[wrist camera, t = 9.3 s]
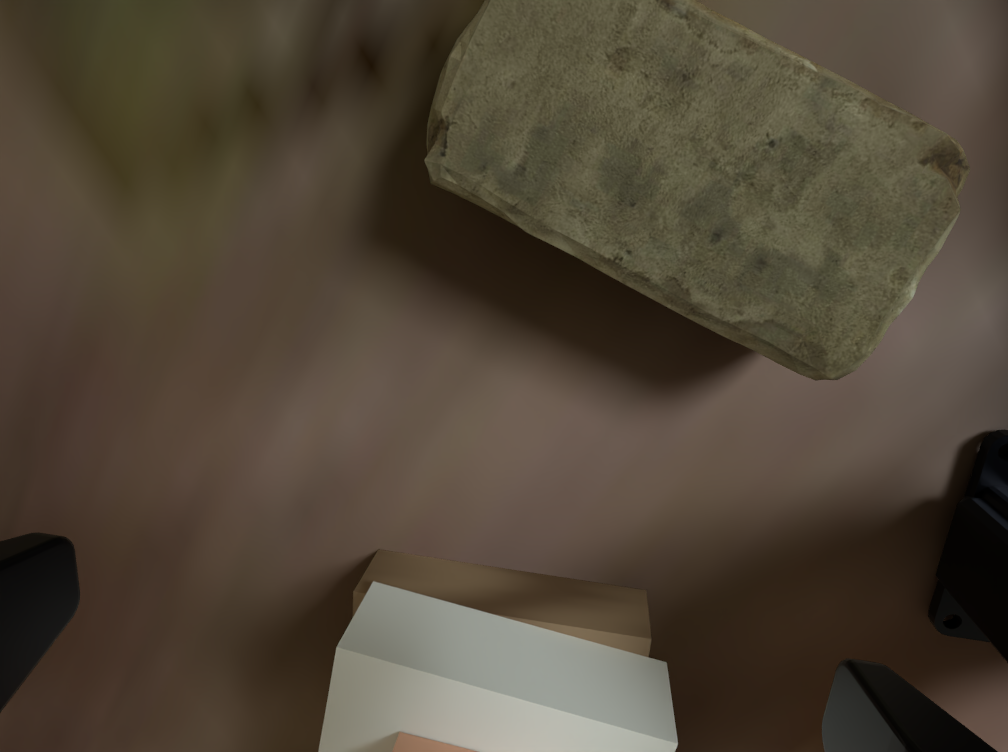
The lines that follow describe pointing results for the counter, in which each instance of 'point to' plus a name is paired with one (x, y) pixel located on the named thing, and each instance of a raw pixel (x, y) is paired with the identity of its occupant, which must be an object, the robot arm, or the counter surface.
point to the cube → (423, 745)
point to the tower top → (487, 684)
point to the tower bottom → (521, 597)
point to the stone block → (699, 169)
